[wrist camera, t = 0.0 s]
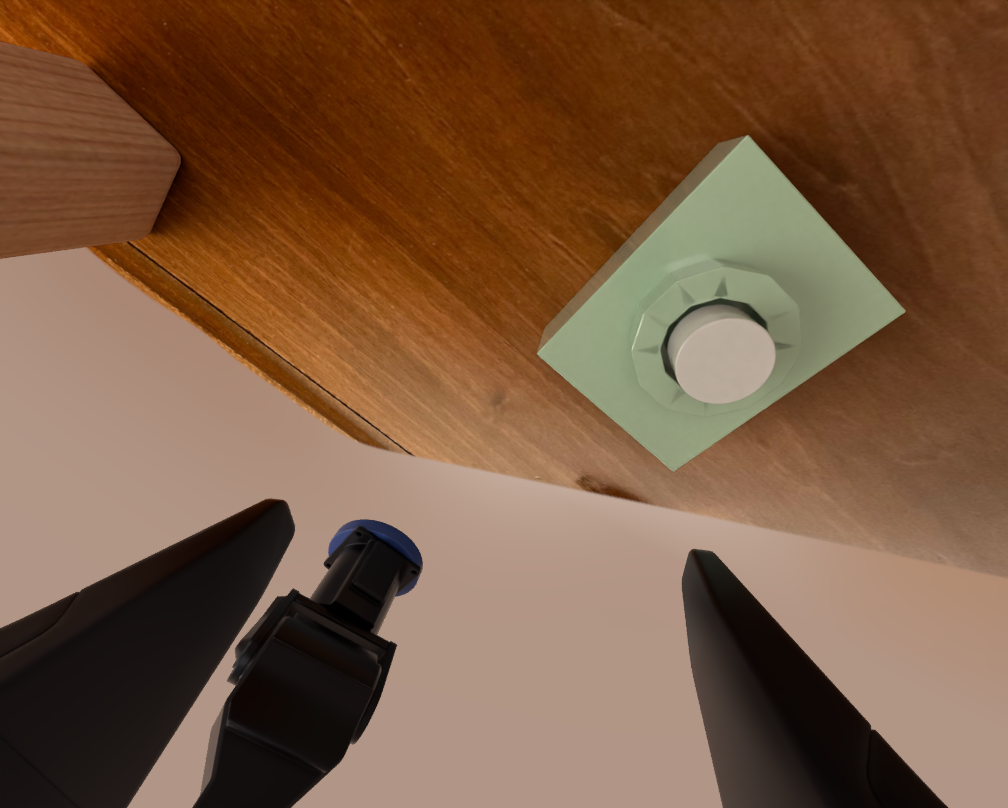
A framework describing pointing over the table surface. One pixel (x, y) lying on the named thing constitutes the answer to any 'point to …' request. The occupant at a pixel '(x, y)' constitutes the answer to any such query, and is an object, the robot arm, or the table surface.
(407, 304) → the table surface
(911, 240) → the table surface
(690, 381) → the beige button cap
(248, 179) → the table surface
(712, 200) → the button base
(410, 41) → the table surface
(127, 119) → the decorative item
